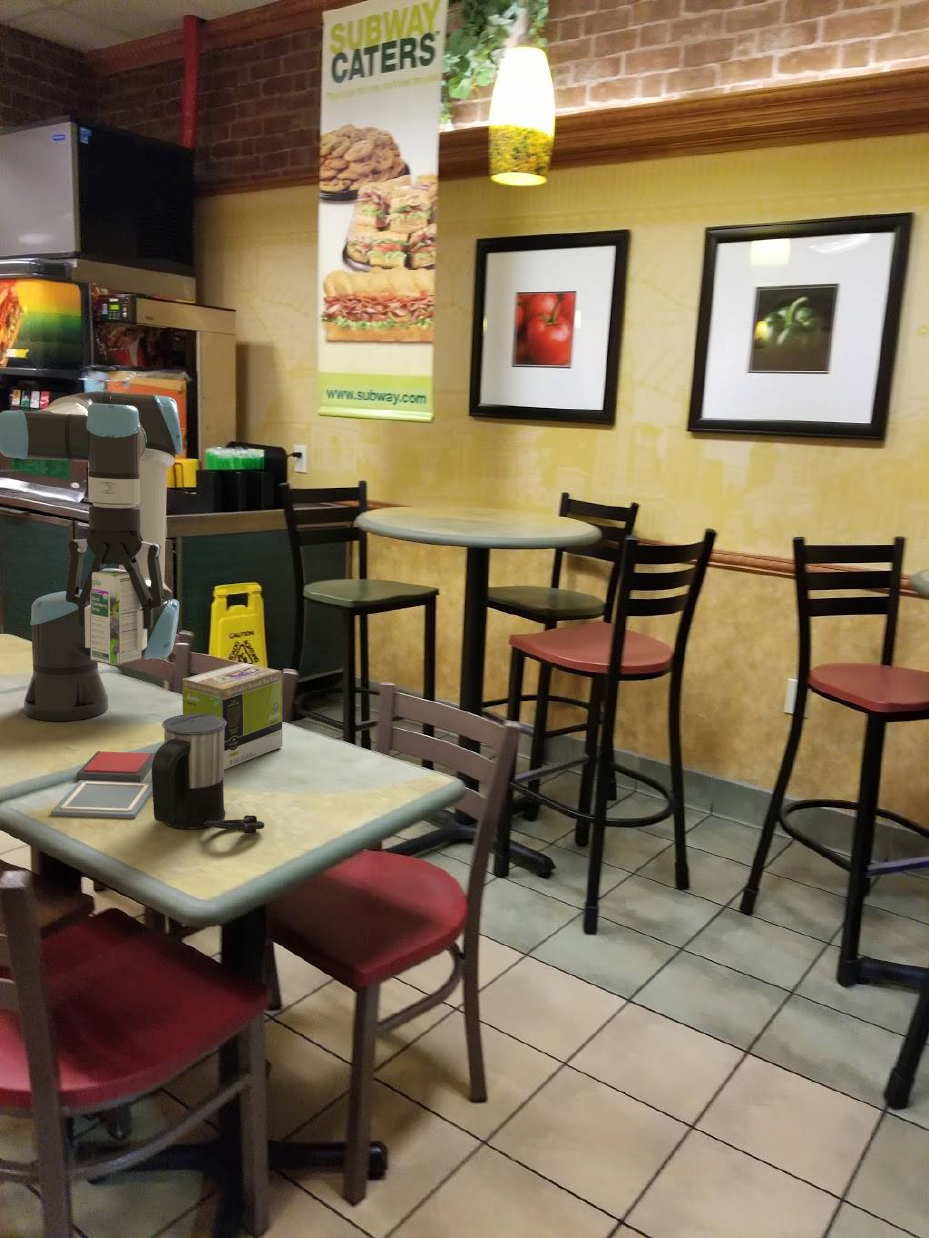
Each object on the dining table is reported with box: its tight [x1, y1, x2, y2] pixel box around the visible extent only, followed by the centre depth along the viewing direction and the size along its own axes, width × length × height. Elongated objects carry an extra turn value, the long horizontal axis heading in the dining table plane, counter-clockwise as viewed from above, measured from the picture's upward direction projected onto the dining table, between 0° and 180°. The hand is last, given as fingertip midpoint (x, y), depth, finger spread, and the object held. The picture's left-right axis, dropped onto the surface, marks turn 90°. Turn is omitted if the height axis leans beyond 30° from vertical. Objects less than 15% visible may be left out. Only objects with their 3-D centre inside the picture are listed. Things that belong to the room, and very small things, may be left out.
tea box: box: [181, 661, 283, 770], centre depth 163 cm, size 15×10×15 cm, turn 149°
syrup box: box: [90, 568, 142, 666], centre depth 148 cm, size 6×6×14 cm
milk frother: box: [151, 714, 265, 835], centre depth 134 cm, size 14×16×15 cm
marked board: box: [50, 780, 153, 819], centre depth 142 cm, size 12×12×1 cm
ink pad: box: [76, 750, 156, 783], centre depth 154 cm, size 10×10×2 cm
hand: (116, 646), depth 149 cm, fingers closed on syrup box, 7 cm apart
